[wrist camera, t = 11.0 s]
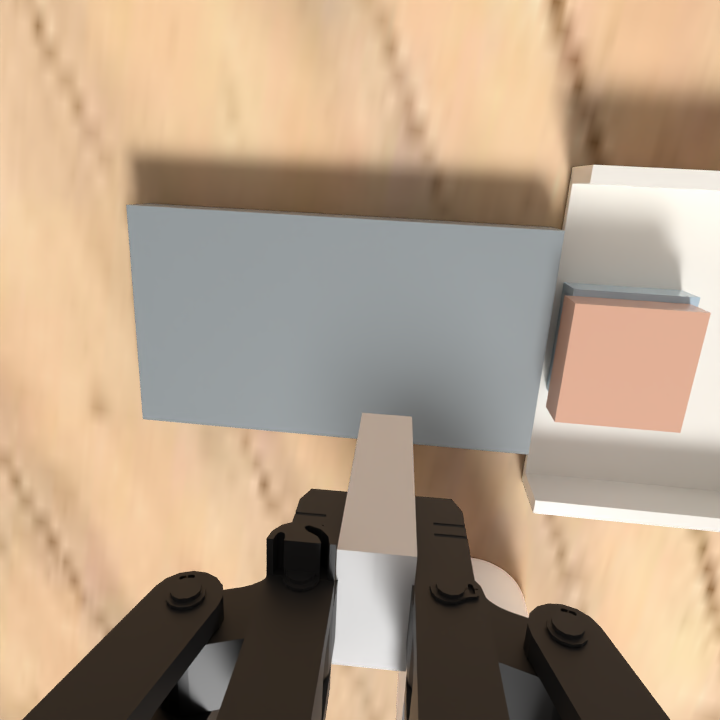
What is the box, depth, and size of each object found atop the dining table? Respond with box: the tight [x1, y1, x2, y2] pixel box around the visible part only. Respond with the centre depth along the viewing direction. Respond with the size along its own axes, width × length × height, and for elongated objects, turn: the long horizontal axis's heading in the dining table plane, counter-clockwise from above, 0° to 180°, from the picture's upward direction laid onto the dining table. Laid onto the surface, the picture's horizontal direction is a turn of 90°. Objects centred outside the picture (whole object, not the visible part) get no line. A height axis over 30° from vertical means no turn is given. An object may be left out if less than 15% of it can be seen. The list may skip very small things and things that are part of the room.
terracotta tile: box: [546, 295, 711, 433], centre depth 27 cm, size 6×6×2 cm
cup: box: [396, 558, 529, 720], centre depth 29 cm, size 8×8×16 cm
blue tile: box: [546, 282, 700, 391], centre depth 29 cm, size 6×6×2 cm
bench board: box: [126, 203, 565, 455], centre depth 30 cm, size 22×12×2 cm, turn 87°
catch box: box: [522, 165, 720, 532], centre depth 28 cm, size 14×18×4 cm
